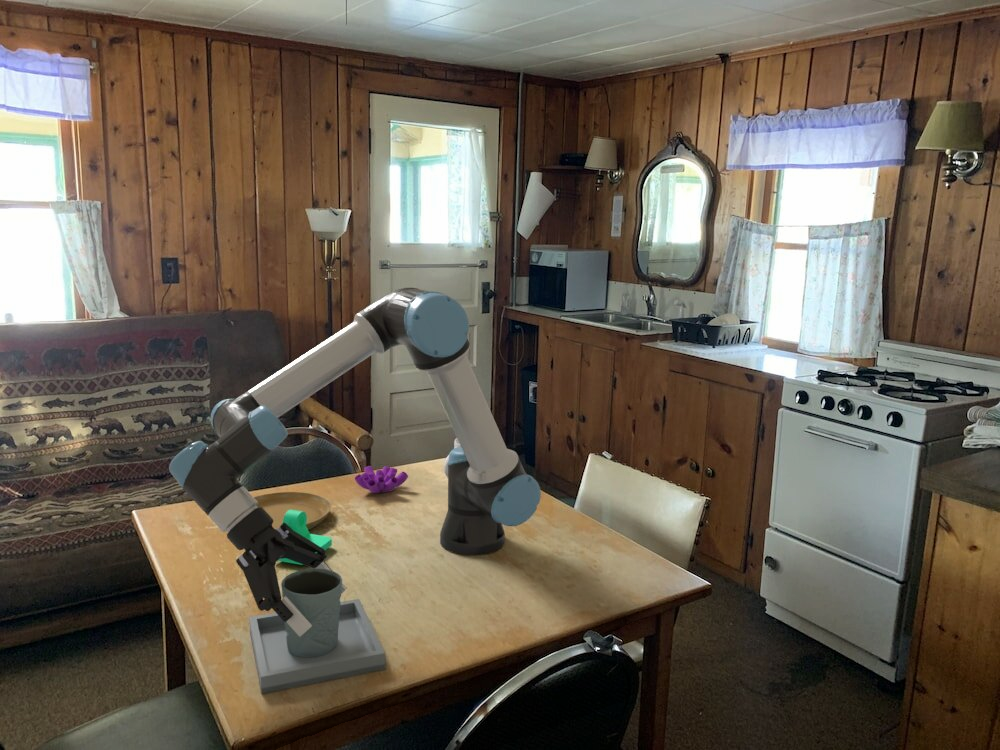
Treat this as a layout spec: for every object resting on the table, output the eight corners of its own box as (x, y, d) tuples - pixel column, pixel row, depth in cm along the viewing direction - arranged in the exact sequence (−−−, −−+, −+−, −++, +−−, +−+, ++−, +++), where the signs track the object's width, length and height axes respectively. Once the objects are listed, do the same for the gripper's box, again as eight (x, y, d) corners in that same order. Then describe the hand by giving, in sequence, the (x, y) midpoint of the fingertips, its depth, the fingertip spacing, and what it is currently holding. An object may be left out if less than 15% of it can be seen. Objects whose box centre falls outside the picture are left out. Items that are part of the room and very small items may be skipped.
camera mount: (305, 570, 167) (303, 524, 165) (274, 564, 169) (272, 519, 167) (333, 548, 178) (332, 505, 176) (304, 543, 181) (303, 501, 179)
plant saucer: (266, 550, 177) (265, 536, 176) (210, 521, 192) (209, 509, 191) (351, 520, 195) (350, 508, 194) (293, 497, 210) (293, 485, 209)
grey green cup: (280, 635, 139) (277, 572, 136) (337, 625, 143) (335, 563, 140) (288, 665, 130) (286, 599, 127) (349, 653, 134) (347, 588, 131)
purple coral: (395, 494, 222) (414, 471, 219) (375, 513, 208) (395, 488, 205) (365, 468, 223) (384, 444, 220) (343, 485, 208) (363, 460, 206)
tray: (359, 613, 149) (359, 598, 149) (385, 669, 131) (385, 653, 131) (249, 632, 142) (249, 616, 141) (261, 694, 124) (260, 677, 123)
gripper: (266, 507, 148) (341, 590, 147) (185, 562, 124) (274, 662, 124) (291, 483, 146) (367, 568, 145) (213, 534, 122) (304, 636, 121)
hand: (324, 611), depth 134 cm, fingers open, 13 cm apart
